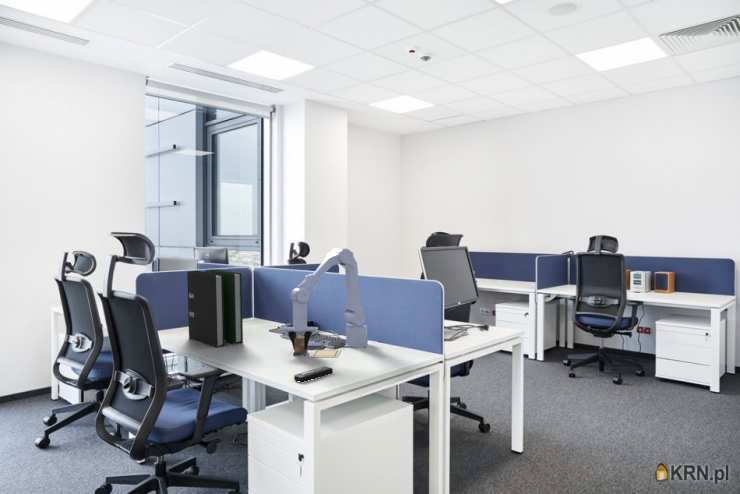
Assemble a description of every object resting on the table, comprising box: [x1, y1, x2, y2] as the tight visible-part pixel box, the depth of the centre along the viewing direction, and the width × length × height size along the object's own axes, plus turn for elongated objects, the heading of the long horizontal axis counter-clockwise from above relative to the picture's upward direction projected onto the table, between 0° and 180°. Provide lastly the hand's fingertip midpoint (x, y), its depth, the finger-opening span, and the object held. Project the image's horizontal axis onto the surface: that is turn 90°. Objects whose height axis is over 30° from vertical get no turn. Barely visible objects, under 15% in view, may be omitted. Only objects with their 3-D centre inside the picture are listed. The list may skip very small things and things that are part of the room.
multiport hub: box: [293, 365, 334, 383], centre depth 176 cm, size 4×14×2 cm, turn 137°
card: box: [310, 349, 342, 358], centre depth 207 cm, size 11×11×1 cm
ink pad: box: [307, 342, 325, 350], centre depth 218 cm, size 8×6×2 cm
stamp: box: [292, 335, 309, 357], centre depth 207 cm, size 5×5×7 cm
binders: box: [186, 269, 244, 349], centre depth 232 cm, size 27×15×32 cm, turn 44°
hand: (300, 349), depth 207 cm, fingers closed on stamp, 4 cm apart
